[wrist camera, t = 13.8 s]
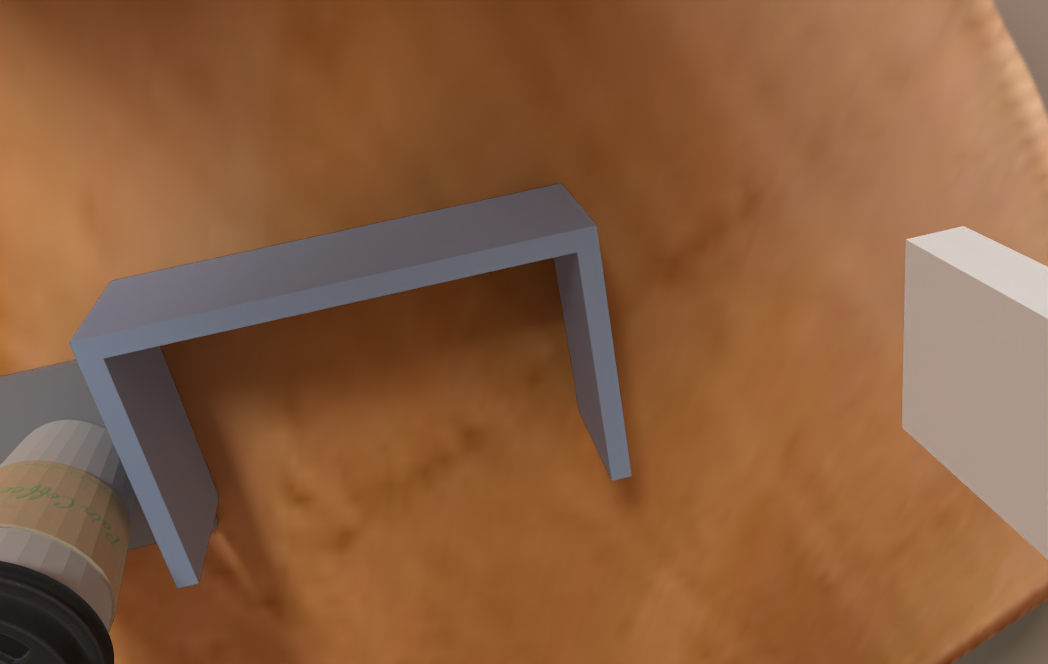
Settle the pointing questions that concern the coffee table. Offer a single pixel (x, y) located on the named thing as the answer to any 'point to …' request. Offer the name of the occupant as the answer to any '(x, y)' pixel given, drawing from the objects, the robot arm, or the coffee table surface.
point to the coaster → (56, 418)
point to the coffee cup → (62, 545)
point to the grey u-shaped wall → (314, 284)
